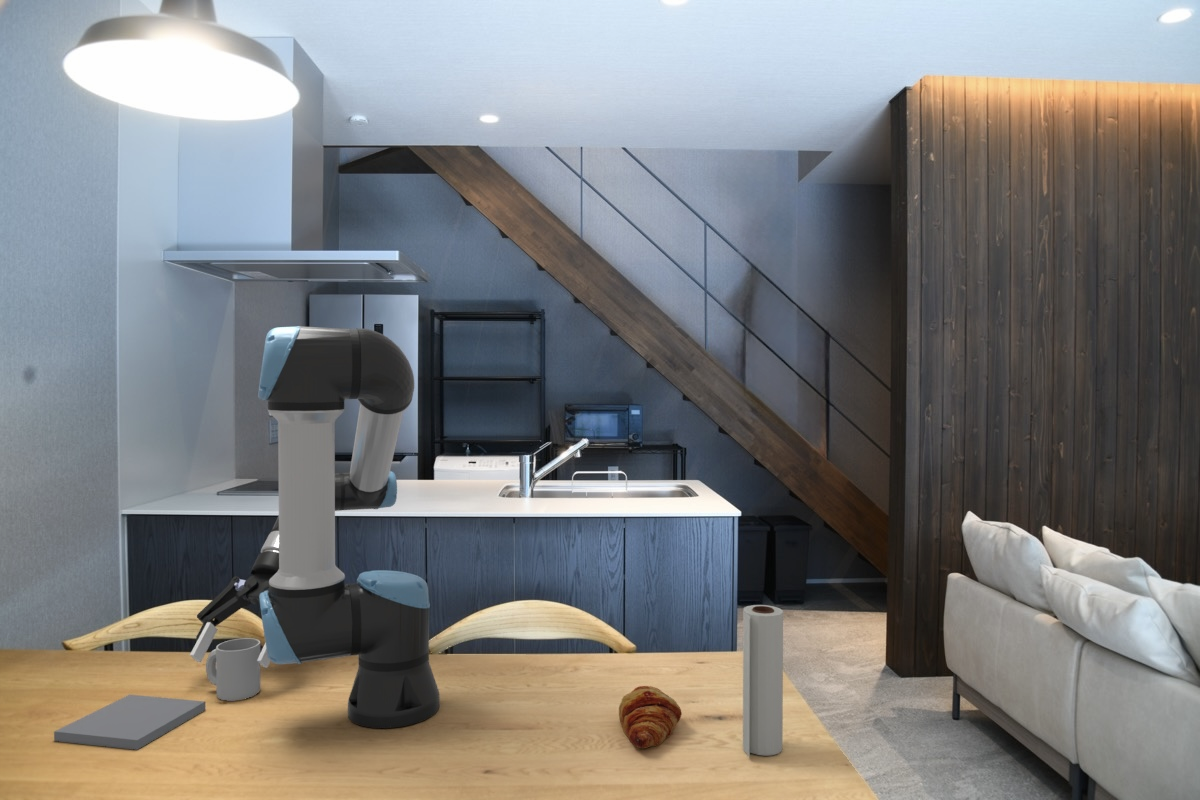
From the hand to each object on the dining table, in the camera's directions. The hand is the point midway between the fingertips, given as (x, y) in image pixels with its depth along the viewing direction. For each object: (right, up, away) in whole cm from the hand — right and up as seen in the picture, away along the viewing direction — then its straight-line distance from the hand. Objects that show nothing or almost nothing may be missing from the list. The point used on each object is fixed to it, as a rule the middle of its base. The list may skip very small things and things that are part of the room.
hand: (228, 661), depth 142 cm
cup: (0, -6, 0) cm, 6 cm away
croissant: (+75, -7, -14) cm, 76 cm away
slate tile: (-9, -6, -13) cm, 17 cm away
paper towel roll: (+91, -6, -21) cm, 94 cm away
